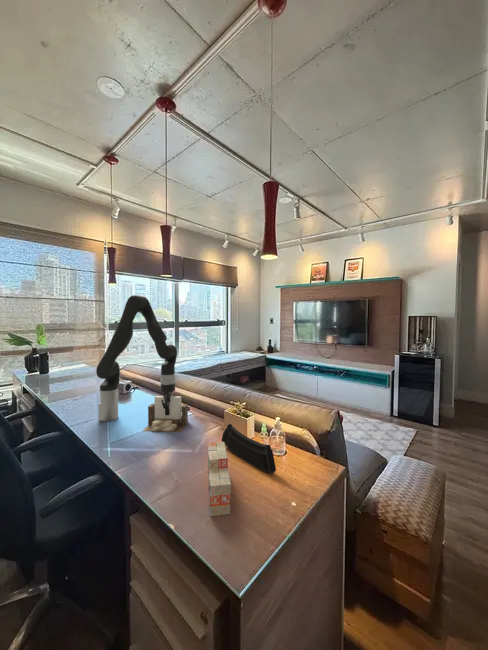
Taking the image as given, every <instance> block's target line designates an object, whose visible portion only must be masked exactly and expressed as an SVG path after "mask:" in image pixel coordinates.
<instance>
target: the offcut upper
mask: <svg viewBox="0 0 488 650" xmlns="http://www.w3.org/2000/svg"><path fill="white" fill-rule="evenodd" d="M171 424H172V420H154V421H153V422H152V427H170V426H171Z"/></svg>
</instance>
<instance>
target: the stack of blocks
mask: <svg viewBox="0 0 488 650" xmlns="http://www.w3.org/2000/svg"><path fill="white" fill-rule="evenodd" d="M226 449H227V448H226V445H225V443H224V442H222V441H221V442H220V441H219V442H208V443H207V483H208V486H207V487H208V488H207V489H208V502H209V503H208V506H209V507H208V508H209V509H208V510H209V516H210V517H216V516H224V515H225V516H226V515H230V514H231V494H232V482H231V476H230V474H229V473H230V472H229V468H228V465H229V464H228V463H229V460H228V454H227V450H226Z"/></svg>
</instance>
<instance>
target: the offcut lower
mask: <svg viewBox="0 0 488 650" xmlns="http://www.w3.org/2000/svg"><path fill="white" fill-rule="evenodd" d="M176 428H177V424H171V426H170V427H152V426H151V431H175V429H176ZM151 431H150V432H151Z"/></svg>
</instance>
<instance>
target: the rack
mask: <svg viewBox="0 0 488 650" xmlns="http://www.w3.org/2000/svg"><path fill="white" fill-rule="evenodd" d="M188 405H189V404H188V403H184V404H183V405H181V423H180V419H155V403H151V404H149V405H148V406H147V416H148V417H147V421H148V422H147V424H148V425H147V426H146V427H145V428H144V429H143V430H142V432H150V433H151V432H155V433H157V432H161V433H162V432H164V433H182V432H183V431H184V429H185V427H186V426H187V425H188V423H189V414H188V413H189V409H188V408H189V407H188ZM154 420H172V424H177V428H176V429H175V431H151V426H152V422H153V421H154Z"/></svg>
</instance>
